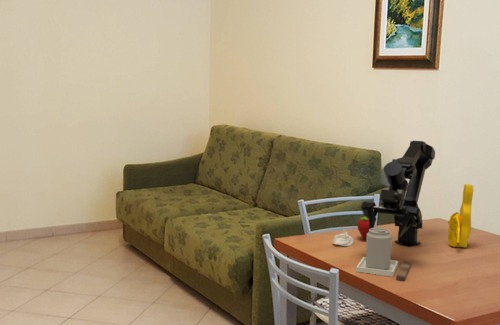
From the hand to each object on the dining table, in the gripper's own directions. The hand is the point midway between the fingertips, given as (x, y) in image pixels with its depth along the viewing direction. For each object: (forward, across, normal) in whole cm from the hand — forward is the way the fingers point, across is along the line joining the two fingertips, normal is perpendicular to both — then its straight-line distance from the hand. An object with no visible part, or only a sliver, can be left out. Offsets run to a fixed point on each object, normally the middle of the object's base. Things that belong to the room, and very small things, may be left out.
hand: (384, 234), depth 182 cm
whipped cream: (-2, -20, +17) cm, 26 cm away
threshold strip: (+10, +8, +3) cm, 13 cm away
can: (+11, 0, +2) cm, 11 cm away
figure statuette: (-16, +16, +31) cm, 39 cm away
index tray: (+11, 0, +2) cm, 11 cm away
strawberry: (-10, -15, +24) cm, 30 cm away
